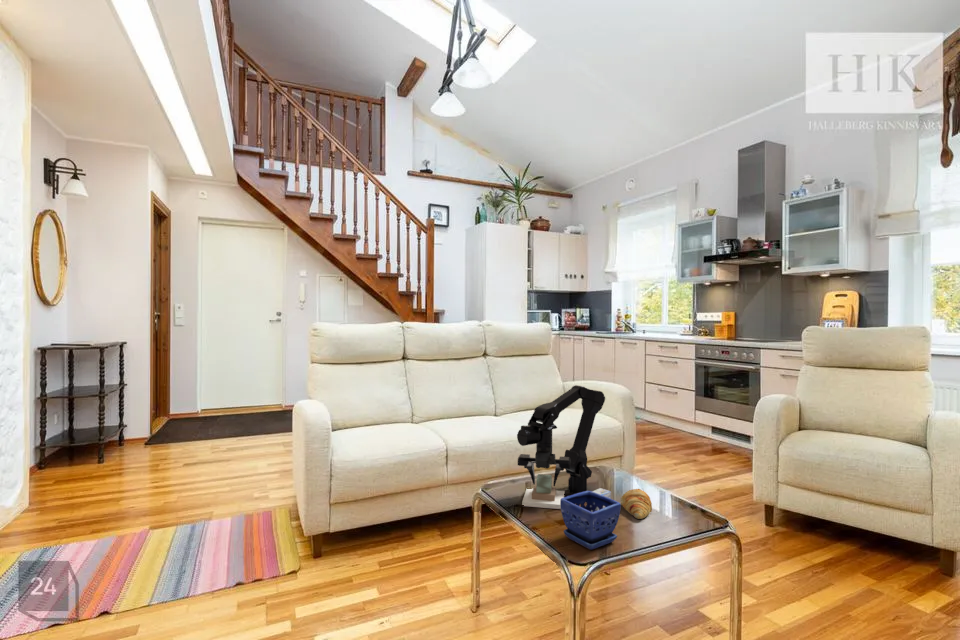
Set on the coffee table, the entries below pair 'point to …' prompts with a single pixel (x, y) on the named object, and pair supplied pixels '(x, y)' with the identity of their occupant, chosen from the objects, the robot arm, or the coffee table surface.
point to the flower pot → (590, 518)
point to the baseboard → (542, 502)
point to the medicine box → (602, 492)
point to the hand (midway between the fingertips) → (544, 485)
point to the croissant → (637, 503)
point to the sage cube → (544, 483)
